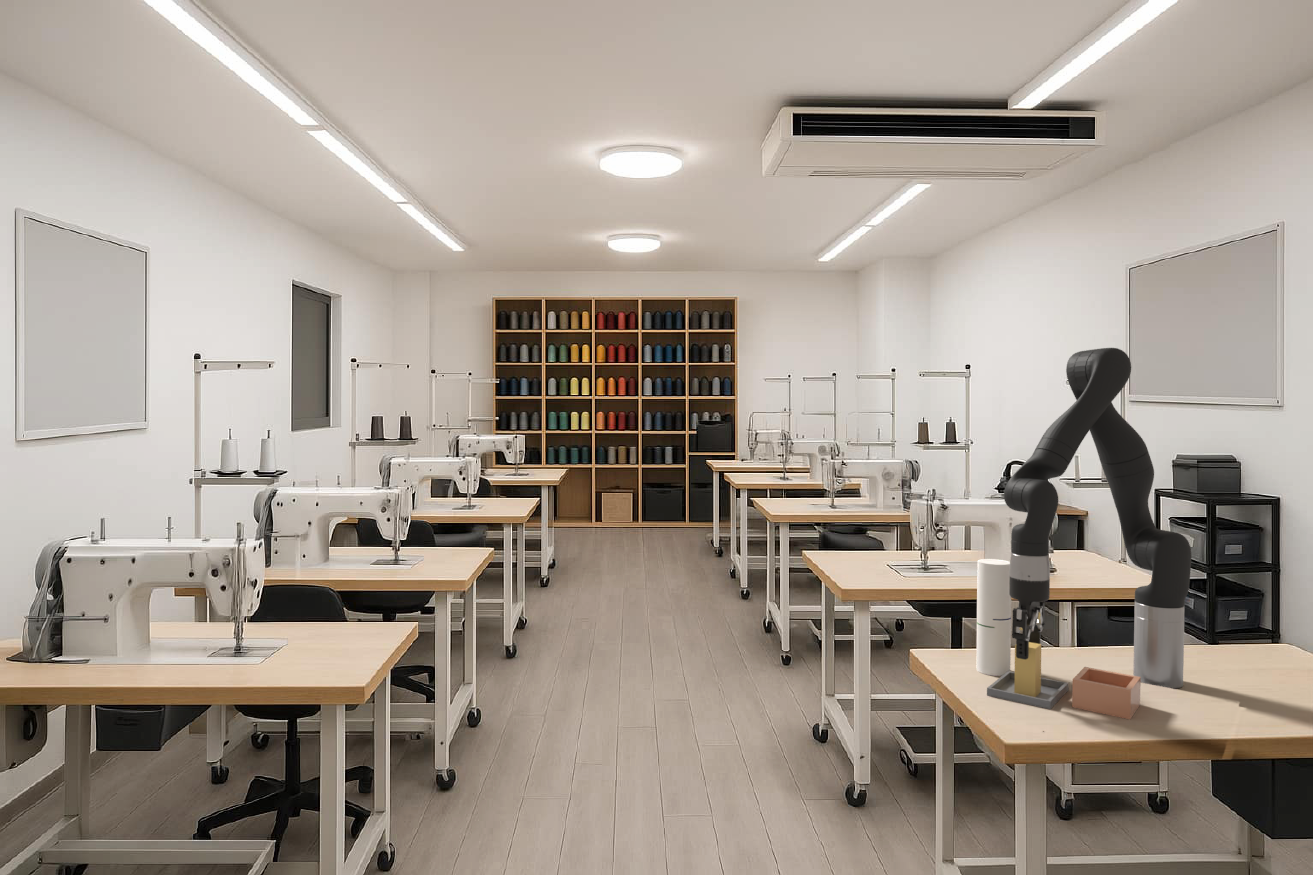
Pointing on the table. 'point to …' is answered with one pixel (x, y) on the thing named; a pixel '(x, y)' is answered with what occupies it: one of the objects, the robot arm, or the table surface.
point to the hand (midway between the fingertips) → (1028, 653)
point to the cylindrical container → (993, 617)
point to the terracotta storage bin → (1106, 692)
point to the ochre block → (1028, 672)
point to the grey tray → (1044, 699)
